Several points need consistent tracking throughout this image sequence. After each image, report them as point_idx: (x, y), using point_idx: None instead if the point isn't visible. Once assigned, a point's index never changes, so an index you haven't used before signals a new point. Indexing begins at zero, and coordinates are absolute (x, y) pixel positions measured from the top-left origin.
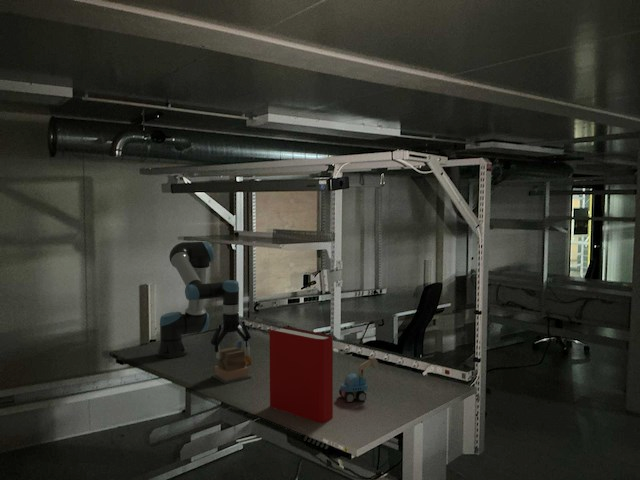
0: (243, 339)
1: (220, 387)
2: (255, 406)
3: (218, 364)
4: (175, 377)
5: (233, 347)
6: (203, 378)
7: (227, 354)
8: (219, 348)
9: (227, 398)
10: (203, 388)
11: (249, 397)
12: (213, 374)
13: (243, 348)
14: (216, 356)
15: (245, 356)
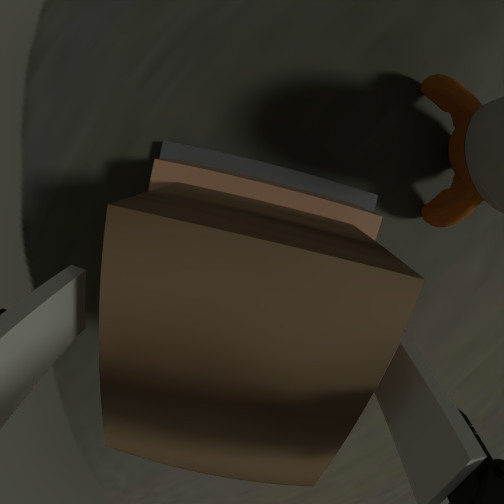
0: (484, 472)
1: (96, 343)
2: (120, 501)
3: (174, 184)
4: (39, 20)
5: (393, 286)
6: (105, 137)
7: (105, 442)
8: (12, 398)
9: (73, 431)
10: (33, 285)
11: (139, 475)
12: (166, 152)
13: (402, 421)
14: (60, 277)
15: (491, 205)
